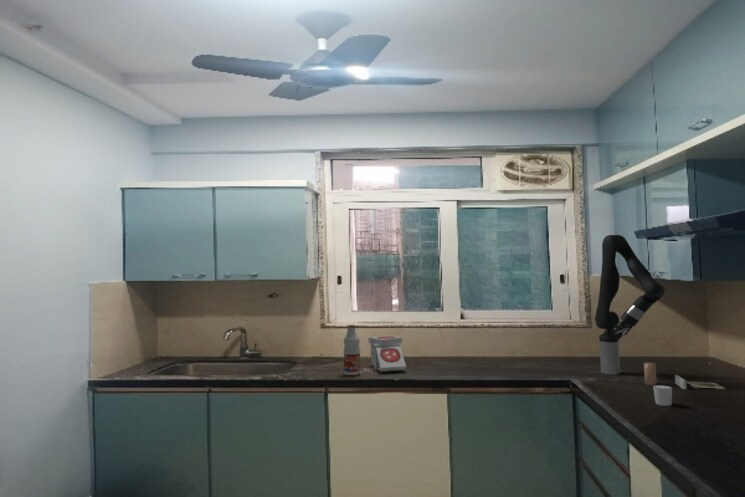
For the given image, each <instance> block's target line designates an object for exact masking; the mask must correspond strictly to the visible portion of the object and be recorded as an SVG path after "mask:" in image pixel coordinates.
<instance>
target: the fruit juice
mask: <svg viewBox="0 0 745 497" xmlns="http://www.w3.org/2000/svg"><path fill="white" fill-rule="evenodd" d="M346 328H347V332H346V334H345V336H344V338H343V345H344V346H343V370H344V371H343V373H344V372H345V373H359V372H360V371H361V347H360V337H359V336H358V335H357V332H356V325H355V324H348V325H346Z"/></svg>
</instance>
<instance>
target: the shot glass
mask: <svg viewBox="0 0 745 497" xmlns="http://www.w3.org/2000/svg"><path fill="white" fill-rule="evenodd" d="M652 386H653V387H652V388H653V394H654V400H655V404H656V405H659V406H664V407H665V406H666V407H669V406H672V404H673V403H672V402H673V387H672V386H668V385H663V384H662V385H660V384H659V385H658V384H657V385H652Z"/></svg>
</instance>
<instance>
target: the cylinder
mask: <svg viewBox="0 0 745 497" xmlns="http://www.w3.org/2000/svg"><path fill="white" fill-rule="evenodd" d="M656 366H657V364H656V363H655V362H650V361H648V362H643V372H644V374H643V376H644V384H645V385H647V386H655V385H658V384H657V383H658V382H657V368H656Z"/></svg>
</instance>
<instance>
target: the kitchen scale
mask: <svg viewBox="0 0 745 497" xmlns="http://www.w3.org/2000/svg"><path fill="white" fill-rule="evenodd" d="M368 343H369V344H370V364H371V363H372V364H373V365H374V366H375V367H376V368H380V370H379V372H391V371H405V370H406V367H407V364H406V361H405V359H404V355H403V351H402V348H401V345H400V344H403V338H402V336H401V337H400V336H395V335H389V334H388V335H381V336H380V335H378V336H370V337H368Z"/></svg>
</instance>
